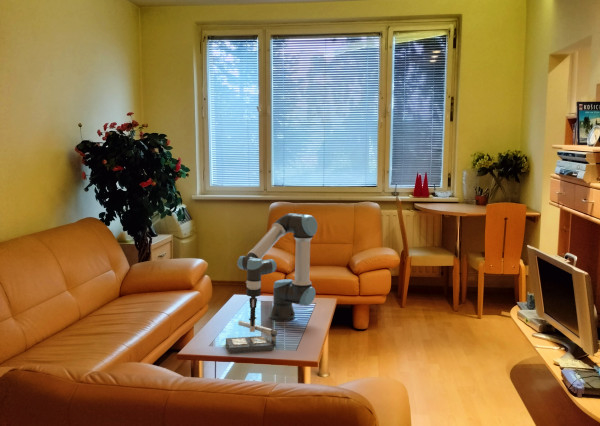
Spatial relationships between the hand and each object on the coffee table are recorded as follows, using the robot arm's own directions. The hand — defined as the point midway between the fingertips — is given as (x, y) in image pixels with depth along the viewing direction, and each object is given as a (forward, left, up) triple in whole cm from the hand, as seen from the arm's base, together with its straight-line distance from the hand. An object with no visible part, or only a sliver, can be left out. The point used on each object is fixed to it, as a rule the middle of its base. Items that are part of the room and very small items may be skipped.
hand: (252, 331), depth 285 cm
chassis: (+2, +8, -5) cm, 10 cm away
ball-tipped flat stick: (-3, 0, 0) cm, 3 cm away
